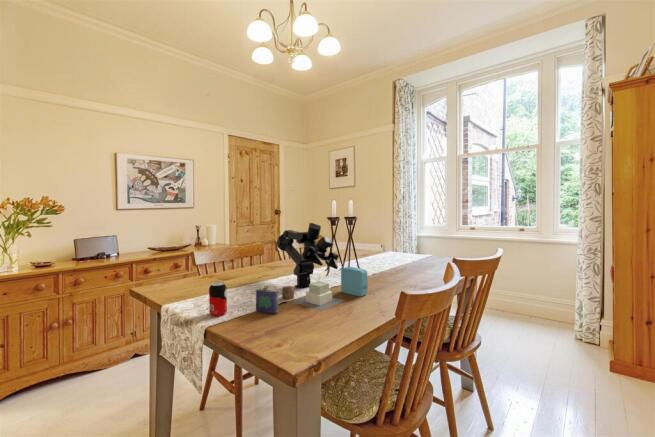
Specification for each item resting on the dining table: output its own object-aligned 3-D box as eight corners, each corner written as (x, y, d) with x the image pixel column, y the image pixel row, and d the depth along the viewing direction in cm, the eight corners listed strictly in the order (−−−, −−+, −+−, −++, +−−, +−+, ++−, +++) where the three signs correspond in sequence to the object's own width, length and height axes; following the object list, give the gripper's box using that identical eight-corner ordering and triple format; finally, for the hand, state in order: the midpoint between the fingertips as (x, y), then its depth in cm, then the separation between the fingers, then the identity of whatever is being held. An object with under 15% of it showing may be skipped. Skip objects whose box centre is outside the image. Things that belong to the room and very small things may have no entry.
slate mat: (292, 303, 130) (292, 302, 130) (317, 294, 142) (317, 293, 142) (321, 311, 120) (321, 310, 120) (345, 301, 132) (345, 300, 132)
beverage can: (217, 318, 113) (216, 286, 112) (206, 315, 116) (205, 284, 116) (230, 313, 119) (229, 282, 118) (219, 310, 122) (218, 280, 121)
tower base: (305, 301, 130) (305, 292, 130) (318, 297, 137) (318, 288, 136) (320, 305, 125) (320, 296, 125) (332, 300, 132) (332, 291, 131)
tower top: (309, 292, 130) (309, 284, 130) (318, 289, 135) (318, 281, 135) (319, 295, 127) (319, 286, 126) (328, 291, 131) (328, 283, 131)
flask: (279, 312, 119) (278, 285, 119) (275, 314, 116) (275, 287, 116) (257, 310, 122) (257, 283, 121) (254, 312, 119) (253, 285, 118)
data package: (367, 295, 140) (367, 269, 140) (362, 297, 137) (362, 271, 136) (346, 290, 148) (346, 266, 147) (340, 292, 145) (340, 267, 144)
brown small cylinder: (279, 298, 136) (279, 287, 135) (288, 296, 140) (288, 285, 139) (287, 301, 132) (287, 289, 132) (296, 298, 136) (296, 287, 136)
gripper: (306, 228, 137) (323, 246, 126) (335, 238, 149) (353, 255, 138) (295, 249, 140) (310, 268, 128) (324, 257, 151) (341, 275, 140)
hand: (329, 266), depth 133 cm, fingers open, 9 cm apart
